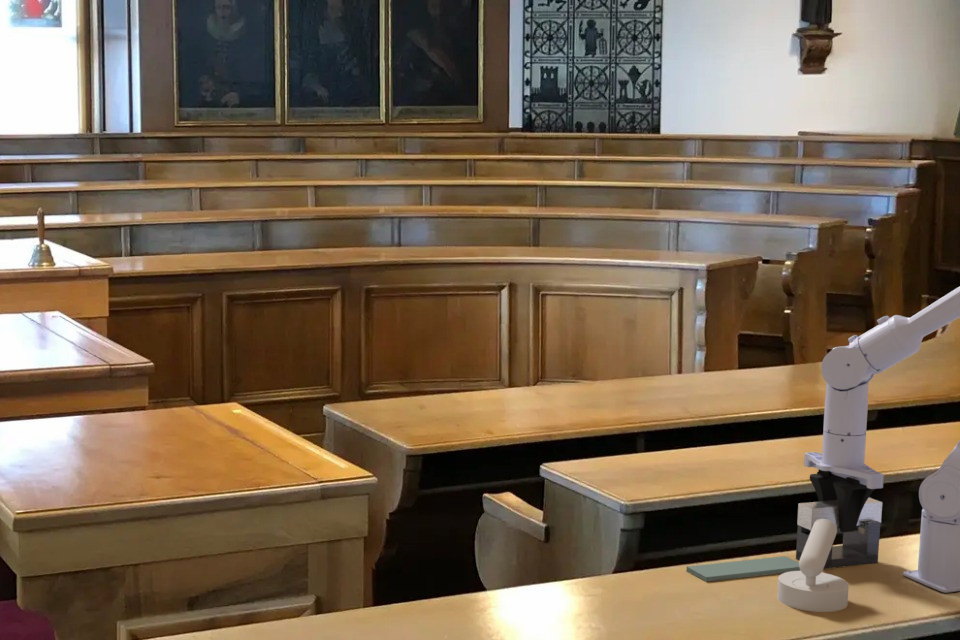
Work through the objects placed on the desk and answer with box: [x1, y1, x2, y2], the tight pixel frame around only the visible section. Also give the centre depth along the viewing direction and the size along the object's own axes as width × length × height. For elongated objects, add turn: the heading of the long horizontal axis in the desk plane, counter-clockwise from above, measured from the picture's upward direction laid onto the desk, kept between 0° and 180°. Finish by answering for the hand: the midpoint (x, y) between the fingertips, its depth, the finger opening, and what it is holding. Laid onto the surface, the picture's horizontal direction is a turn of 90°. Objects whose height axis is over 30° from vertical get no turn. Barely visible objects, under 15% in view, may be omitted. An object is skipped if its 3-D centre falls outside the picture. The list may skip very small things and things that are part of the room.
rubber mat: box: [685, 555, 801, 582], centre depth 173 cm, size 16×5×1 cm, turn 113°
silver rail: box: [796, 497, 883, 530], centre depth 178 cm, size 12×3×3 cm, turn 113°
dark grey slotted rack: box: [795, 521, 881, 570], centre depth 178 cm, size 10×5×6 cm, turn 113°
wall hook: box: [776, 519, 849, 613], centre depth 161 cm, size 9×10×10 cm
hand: (839, 527), depth 178 cm, fingers closed on silver rail, 3 cm apart
